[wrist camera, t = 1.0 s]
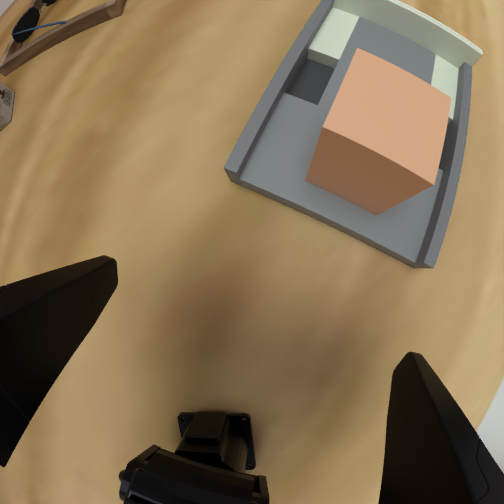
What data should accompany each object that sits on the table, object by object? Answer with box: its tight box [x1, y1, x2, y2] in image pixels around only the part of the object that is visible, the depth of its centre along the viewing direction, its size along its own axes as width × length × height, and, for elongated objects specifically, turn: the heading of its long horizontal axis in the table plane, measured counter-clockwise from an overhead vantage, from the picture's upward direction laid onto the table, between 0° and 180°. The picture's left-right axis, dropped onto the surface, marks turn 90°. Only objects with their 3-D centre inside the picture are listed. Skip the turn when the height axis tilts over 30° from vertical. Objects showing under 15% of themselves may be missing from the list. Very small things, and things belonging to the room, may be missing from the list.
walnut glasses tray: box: [0, 0, 126, 76], centre depth 26 cm, size 22×24×2 cm
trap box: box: [224, 0, 483, 268], centre depth 20 cm, size 24×17×6 cm
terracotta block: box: [305, 48, 451, 215], centre depth 17 cm, size 6×6×9 cm
